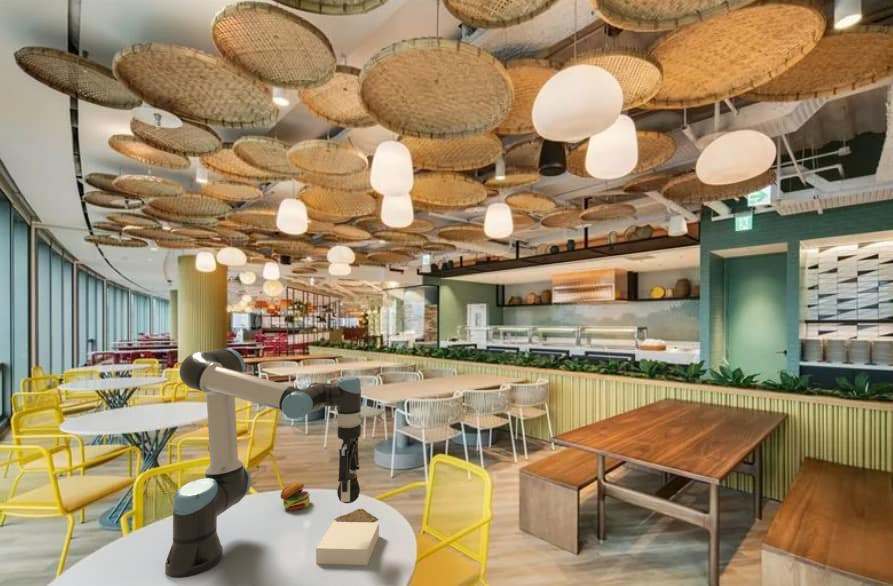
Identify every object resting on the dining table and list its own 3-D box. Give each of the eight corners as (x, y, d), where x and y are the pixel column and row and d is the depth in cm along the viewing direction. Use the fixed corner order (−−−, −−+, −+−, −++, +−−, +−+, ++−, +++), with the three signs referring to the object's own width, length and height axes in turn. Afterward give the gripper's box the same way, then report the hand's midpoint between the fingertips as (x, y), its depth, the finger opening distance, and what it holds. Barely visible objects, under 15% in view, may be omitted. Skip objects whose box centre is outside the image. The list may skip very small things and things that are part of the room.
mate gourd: (353, 493, 139) (353, 463, 140) (364, 501, 134) (364, 470, 134) (333, 500, 135) (333, 469, 135) (344, 508, 129) (344, 476, 129)
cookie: (333, 520, 153) (333, 517, 153) (362, 509, 161) (362, 507, 161) (349, 533, 144) (349, 530, 144) (379, 520, 152) (379, 518, 152)
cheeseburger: (302, 512, 158) (296, 487, 159) (278, 517, 160) (272, 491, 161) (315, 500, 168) (310, 476, 169) (293, 505, 170) (287, 480, 171)
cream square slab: (316, 565, 126) (316, 548, 126) (333, 536, 142) (333, 521, 142) (367, 566, 125) (367, 549, 125) (379, 537, 141) (379, 522, 141)
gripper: (351, 433, 125) (351, 510, 124) (367, 417, 145) (368, 482, 144) (327, 433, 126) (327, 510, 124) (347, 416, 146) (346, 482, 145)
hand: (349, 495), depth 134 cm, fingers closed on mate gourd, 7 cm apart
